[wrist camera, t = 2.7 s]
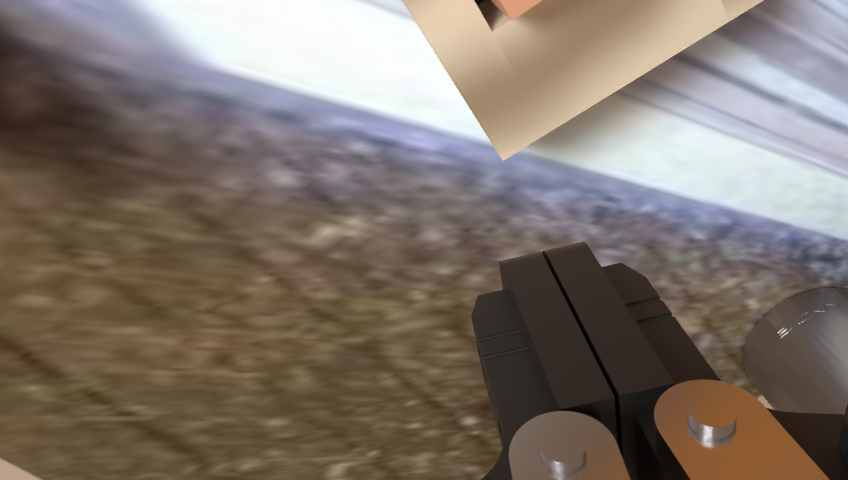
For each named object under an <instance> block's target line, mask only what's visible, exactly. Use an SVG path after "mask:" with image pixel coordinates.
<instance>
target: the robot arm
mask: <svg viewBox="0 0 848 480" xmlns="http://www.w3.org/2000/svg"><path fill="white" fill-rule="evenodd" d="M500 272H501V279H502V285H503V290H500V291H496V292H492V293H487V294H483V295H478V297H477V300H476V303H475V307H474V310H473V313H472V316H471V318H472V322H473V327H474V332H475V337H476V342H477V347H478V352H479V357H480V362H481V367H482V372H483V377H484V381H485V385H486V388H487V392H488V396H489V400H490V403H491V407H492V411H493V414H494V418H495V422H496V425H497V429H498V433H499V436H500V440H501V444H502V447H503V449H502V452H501V455H500V457H499V459H498V461H497V463H496V464H495V466H494V467H493V468H492V470H491V471H490V472H489V473H488V474H487V475H486V476H485V477H484V478H482V479H481V480H848V290H847V289H844V288H833V287H830V288H820V289H815V290H811V291H807V292H803V293H801V294H799V295H796V296H794V297H792V298H789V299H788V300H786V301H784V302H783V303H781V304H780V305H778V306H776V307H775V308H774V309H773V310H771V311H770V312H769V313H768V314H766V315H765V316H764V317H763V318H762V319H761V321H760V322H759V323H758V324H757V325H756V326H755V327H754V329H753V331H752V332H751V334H750V335H749V337H748V339H747V342H746V344H745V347H744V351H743V358H742V359H743V366H744V369H745V371H746V373H747V375H748V377H749V378H750V379H751V381H752V382H753V383H754V385H755V386H756V387H757V388H758V390H759V391H760V392H761V394H762V395H763V396H764V397H765V399H766V400H767V401H768V403H769V404H770V405H771V406H772V408H773V409H774V410H772V409H769V408H765V406H764V405H763V404H762V403H761V402H760V401H759V400H758V399H757V398H756V397H754V396H753V395H751V394H750V393H749V392H747V391H745V390H743V389H741V388H740V387H737V386H734V385H732V384H729V383H725V382H722V381H721V380H720V379H719V378H718V377H717V375H716V374H715V373H714V371H713V370H712V368H711V367H710V366H709V364H708V363H707V361H706V360H705V359H704V357H703V356H702V355H701V353H700V352H699V350H698V349H697V348H696V346H695V345H694V343H693V342H692V341H691V339H690V338H689V337H688V335H687V334H686V332H685V331H684V330H683V328H682V327H681V325H680V324H679V323H678V321H677V320H676V319H675V317H672V314H671V312H670V310H669V309H668V307H667V306H666V305H665V303H664V302H663V301H661V300H660V296H659V295H658V294H657V292H656V291H655V289H654V288H653V287H652V285H651V284H650V283H649V281H648V280H647V278H646V277H645V276H643V275H641V274H640V273H638V272H636V271H635V270H633V269H631V268H630V267H628V266H626V265H624V264H623V263H618V264H614V265H609V266H605V267H601V266H600V264H599V263H598V261H597V259H596V258H595V256H594V255H593V253H592V251H591V250H590V248H589V247H588V245H587V244H586V243H585V242H581V243H576V244H572V245H568V246H563V247H559V248H555V249H550V250H546V251H543V252H542V253H541V252H538V253H533V254H529V255H525V256H520V257H516V258H511V259H507V260H503V261H500Z"/></svg>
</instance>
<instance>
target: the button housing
mask: <svg viewBox="0 0 848 480" xmlns="http://www.w3.org/2000/svg"><path fill="white" fill-rule="evenodd" d="M402 1H403V3H404V4H405V6H406V7H407V9H408V11H409V12H410V14H411V15H412V17H413V19H414V20H415V22H416V23H417V25H418V26H419V28H420V30H421V31H422V33H423V34H424V36H425V38H426V39H427V41H428V42H429V44H430V46H431V47H432V49H433V50H434V52H435V54H436V55H437V57H438V58H439V60H440V61H441V63H442V65H443V66H444V68H445V69H446V71H447V73H448V74H449V76H450V77H451V79H452V81H453V82H454V84H455V85H456V87H457V89H458V90H459V92H460V93H461V95H462V96H463V98H464V100H465V101H466V103H467V104H468V106H469V108H470V109H471V111H472V112H473V114H474V116H475V117H476V119H477V120H478V122H479V124H480V125H481V127H482V128H483V130H484V131H485V133H486V135H487V136H488V138H489V139H490V141H491V143H492V144H493V146H494V147H495V149H496V151H497V152H498V154H499V155H500V157H501V159H502V160H503V161H504V160H505V159H507V158H509V157H510V156H512V155H513V154H515V153H517V152H518V151H520V150H522V149H523V148H525V147H526V146H528V145H530V144H531V143H533V142H535V141H536V140H538V139H539V138H541V137H543V136H544V135H546V134H548V133H549V132H551V131H552V130H554V129H556V128H557V127H559V126H561V125H562V124H564V123H565V122H567V121H569V120H570V119H572V118H573V117H575V116H577V115H578V114H580V113H582V112H583V111H585V110H586V109H588V108H590V107H591V106H593V105H595V104H596V103H598V102H599V101H601V100H603V99H604V98H606V97H608V96H609V95H611V94H612V93H614V92H616V91H617V90H619V89H621V88H622V87H624V86H625V85H627V84H629V83H630V82H632V81H634V80H635V79H637V78H638V77H640V76H642V75H643V74H645V73H647V72H648V71H650V70H651V69H653V68H655V67H656V66H658V65H660V64H661V63H663V62H664V61H666V60H668V59H669V58H671V57H673V56H674V55H676V54H677V53H679V52H681V51H682V50H684V49H686V48H687V47H689V46H690V45H692V44H694V43H695V42H697V41H699V40H700V39H702V38H703V37H705V36H707V35H708V34H710V33H712V32H713V31H715V30H716V29H718V28H720V27H721V26H723V25H724V24H726V23H728V22H729V21H731V20H733V19H734V18H736V17H737V16H739V15H741V14H742V13H744V12H746V11H747V10H749V9H750V8H752V7H754V6H755V5H757V4H759V3H760V2H762V1H763V0H542V1H541V2H539V3H538V4H536V5H535V6H533V7H532V8H530V9H529V10H527V11H526V12H524V13H523V14H521V15H520V16H518V17H517V18H515V19H514V20H512V21H511V20H510V19H509V18H508V17H507V16H506V15H505V14H504V13H503V12H502V11H501V10H500V9H499V8H498V7H497V6H496V5H495V4H494V3H493V2H492V1H491V0H485V1H483V2H482V3H481V4H479V5H478V6H477V4H476V3H475V1H474V0H402Z"/></svg>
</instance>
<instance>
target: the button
mask: <svg viewBox="0 0 848 480" xmlns="http://www.w3.org/2000/svg"><path fill="white" fill-rule="evenodd" d="M491 1H492V2H493V3H494V4H495V5H496V6H497V7H498V8H499V9H500V10H501V11H502V12H503V13H504V14H505V15H506V16H507V17H508V18H509V19H510V20H511V21H512V20H514V19H515V18H517V17H518V16H520V15H521V14H523V13H524V12H526V11H527V10H529V9H530V8H532V7H533V6H535V5H536V4H538V3H539V2H541V1H542V0H491Z"/></svg>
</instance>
